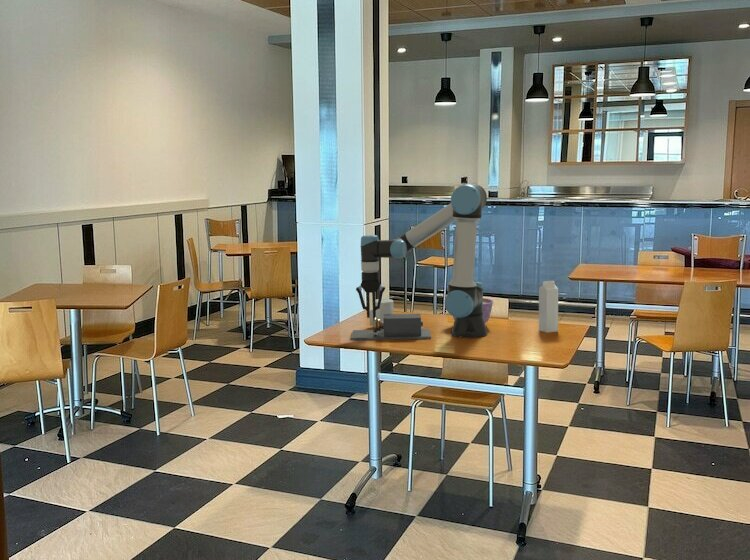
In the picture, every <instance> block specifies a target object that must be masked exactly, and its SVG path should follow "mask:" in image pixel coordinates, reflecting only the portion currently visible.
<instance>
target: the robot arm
mask: <svg viewBox="0 0 750 560" xmlns="http://www.w3.org/2000/svg"><path fill="white" fill-rule="evenodd" d="M487 200H488V195H487V191H486V189H484V187H483V186H481V185H480V184H477V183H463V184H461V185H459V186H458V187H456V188H455V189H454V190H453V191H452V193H451V196H450V203H448V204H447V205H446V206H443V208H441V209H440V210H438V211H437V212H435V213H434V214H431V216H428V218H426V219H424V220H423V221H422V222H420V223H419V224H417V225H416V226H414V227H413V228H411V229H409V230H408V231H406V232H405V233H404V234H401V236H399V237H397V238H393V239H385V240H384V239H383V240H382V239H379V236H378V235H376V234H367V235H362V236H361V237H360V245H359V246H360V265H361V271H362V272H361V283H360V285H359V286H357V287H356V288H355V291H356V292H357V293H358V297H359V301H360V304H361V307H362V309H363V310H364V311H366V318H368V319H369V326H371V327H373V318H375V317H376V310H377V309H379V308H380V304H381V299H383V293H384V292H385V290H386V287H385V286H383V285H382V284H381V282H380V272H379V269H380V265H379V264H380V262H379V261H380V260H379V259H380V258H381V259H382V258H383V259H385V258H387V259H390V258H391V259H403V258H405V256H406V254H409V253H410V252H411V251H412V250H413V249H415V248H416V247H417V246H419V245H421V244H422V243H424V242H425V241H428V239H430V238H431V237H433V236H434V235H436V234H438V233H439V232H441V231H443V230H444V229H445V228H447V227H448V226H450V225H452V224H453V223H455V228H454V229H455V230H454V233H455V234H454V244H453V245H454V247H453V248H454V250H453V266H452V279H451V280H450V281H449V282H448V285H447V286H448V287H447V294H446V296H445V299H444V307H445V310H446V312H447V313H449V314H450V316H452V317H453V316H454V317H456V318H455V320H454V321H453V326H452V327H451V335H452V336H453V337H458V338H469V339H471V338H473V339H474V338H481V337H485V336H487V335H488V328H487V327H486V323H485V322H484V319H483V298H484V286H483V283H482V282H481V281H480V282H479V281H474V274H475V263H476V262H475V260H476V259H475V258H476V248H477V247H476V245H477V230H478V228H477V227H478V222H479V221H480V220H482V215H483V214H482V212H483V208H484V207H485V205H486V203H487ZM362 289H363V291H364V293H366V296H365V297H366V304H365V300H364V296H363V292H362ZM378 289H379V291H380V292H379V295H378V299H379V300H378V304H377V306H376V302H375V300H376V292H377V291H378ZM370 293H371V294H372V295H371V297H372V299H371V300H372V301H371V300H370ZM370 301H371V302H373V303H372V309H371V306H370V304H371V303H370Z"/></svg>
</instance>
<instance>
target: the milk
mask: <svg viewBox="0 0 750 560" xmlns="http://www.w3.org/2000/svg"><path fill="white" fill-rule="evenodd" d="M555 282H556V281H555V280H546V281H545V280H544V281H542V285H541V286H539V287H538V331H540V332H543V333H548V334H549V333H556V332H559V288H558V286H556V284H555Z"/></svg>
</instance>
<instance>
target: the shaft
mask: <svg viewBox="0 0 750 560" xmlns="http://www.w3.org/2000/svg"><path fill="white" fill-rule="evenodd" d="M381 329H384V322H383V321H380V319H377V317H375V318H373V326H372V330H373V333H377V331H380V330H381ZM421 329H424V320H421Z"/></svg>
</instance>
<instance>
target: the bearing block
mask: <svg viewBox="0 0 750 560" xmlns="http://www.w3.org/2000/svg"><path fill="white" fill-rule="evenodd" d="M421 321H422V316H421V313H395V314H394V313H393V314H384V318H383V322H384V328H383V329H380V331H377V333H373V329H353V330H352V333H351V337H350V341H377V340H378V341H379V340H380V341H383V340H385V341H386V340H387V341H388V340H389V341H390V340H393V341H394V340H431V339H432V336H431V329H430V328H421Z"/></svg>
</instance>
